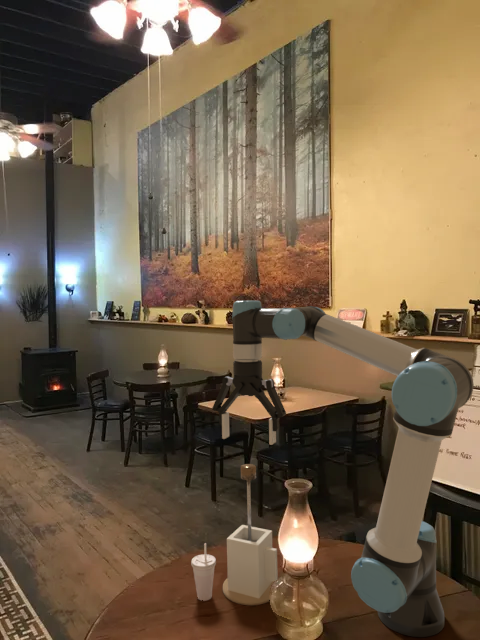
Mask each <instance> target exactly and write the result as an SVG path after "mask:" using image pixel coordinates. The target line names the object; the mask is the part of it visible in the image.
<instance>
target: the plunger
mask: <svg viewBox="0 0 480 640" xmlns="http://www.w3.org/2000/svg"><path fill="white" fill-rule="evenodd" d="M240 479H241V480H242V481H246V497H247V498H246V500H247V501H246V503H247V505H246V507H247V509H246V510H247V526H248V540H247V541H251V542H257V540H252V538H251V527H252V505H251V504H252V503H251V502H252V501H251V481H252V480H253V481H254V480H255V479H257V466H256V465H255V464H253V463H245V464H242V465H240Z"/></svg>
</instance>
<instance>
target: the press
mask: <svg viewBox="0 0 480 640" xmlns="http://www.w3.org/2000/svg"><path fill="white" fill-rule="evenodd" d="M251 538H252V540H257V542H251V541H247V540H248V525H245V524H241V525H240V526H239V527H237V529H236V530H234V531H233V533H231V534H230V535H229V536H228V537H227V538H226V558H227V559H226V560H227V562H226V563H227V567H226V569H227V578H226V579H225V580H224V581H223V584H222V593H223V595H224V597H225V598H227V600H228V601H231V602H233V603H235V604H238V605H242V606H243V605H244V606H258V605H262V604H266V603H269V602H270V601H269V591H270V588H271V585H272V584H273V582H274V581H276V580H277V581H278V578H279V577H278V548H274V547H273V530H270V529H265V528H260V527H256V526H251Z"/></svg>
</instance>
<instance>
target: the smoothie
mask: <svg viewBox="0 0 480 640" xmlns="http://www.w3.org/2000/svg"><path fill="white" fill-rule="evenodd" d="M203 546H204V547H203V548H204V550H203V553H204V554H198V555H195V556H194V557H193V558H192V559H191V560H190V561H191V567H192V569H193V570H192V571H193V578H194V583H195V590H196V596H197V597H198V598H197V600H199V601H202V600H203V601H202V602H205V601H209V600H211V599H212V596H213V587H214V586H213V585H214V576H215V566H216V565H217V561H216V557H215V556H214V555H211V554H207V553H208V552H207V543H206V542H205V543H204V544H203Z"/></svg>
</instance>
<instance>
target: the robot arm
mask: <svg viewBox="0 0 480 640" xmlns="http://www.w3.org/2000/svg"><path fill="white" fill-rule="evenodd" d="M231 319H232V336H233V337H232V338H233V339H232V340H233V341H232V346H233V347H232V358H233V359H234V360H233V363H232V364H233V367H232V368H233V371H232V373H233V377H231V376H229V375H228V376H225V377H222V384H221V386H220V389H219V393H218V394H217V396H216V398H215V401H214V403H213V405H212V411H214V412H217V413H218V418H219V419H218V421H219V426H221V435H222V436H221V439H223V440H225V439H227V438H229V437H230V412H229V411H228V410H229V408H230V407H231V406H232V404H233V403H234V402H235V401H236V399H238V397H239V396H248V397H253V396H254V397H255V398H256V399H257V400H258V401H259V402H260V404H261V405H262V406H263V408H264V409H265V410H266V412H267V413H268V415H269V416H270V418H269V419H268V440H269V441H268V443H269V445H271V446H272V445H274V444H276V443H277V432H278V431H279V429H280V418H282V417H284V416H286V415H287V412H286V409H285V407H284V405H283V403H282V400H281V398H280V397H279V394H278V391H277V389H276V387H275V380H274V379H273V378H270V379H263V361H262V360H261V359H262V357H263V344H262V343H263V342H262V341H263V339H265V338H266V339H279V340H280V339H281V340H285V341H287V340H298V339H299V338H301V337H307V338H309V339H311V340H313V341H315V342H318V343H321V344H323V345H325V346H327V347H330V348H331V349H335V350H336V351H339V352H340V353H343V354H345V355H348V356H350V357H352V358H354V359H357V360H359V361H361V362H364V363H366V364H369V365H370V366H373V367H375V368H377V369H380V370H381V371H384V372H387V373H389V374H391V375H394V376H396V378H395V380H394V381H393V384H392V387H391V401H392V405H393V406H394V412H393V416H392V419H393V422H394V423H395V425H396V426H397V427H398V428H397V434H396V438H395V443H394V447H393V452H392V454H391V455H392V456H391V460H390V465H389V468H388V469H389V470H388V474H387V477H386V483H385V486H384V491H383V496H382V500H381V504H380V508H379V513H378V515H377V517H378V518H377V522H376V526H375V527H374V528H371V529H369V530H368V532H367V534H366V536H365V541H364V545H363V549H362V554H361V556H360V557H359V558H358V559H357V560H356V561H354V564H353V566H352V568H351V572H350V573H351V574H350V579H351V583H352V586H353V588H354V590H355V591H356V593H357V595H358V597H359V599H361V601H363V603H365V604H366V605H367V606H368V607H370V608H371V609H373V610H375V611H377V616H378V618H379V619H380V621H381V622H382V623H383V625H385V626H386V627H387V628H388V629H390V630H392V631H394V632H396V633H398V634H401V635H404V636H409V637H414V638H427V637H431V636H432V637H433V636H436V635H438V634H439V633H440V632H442V630H443V628H445V612H444V611H445V610H444V608H443V605H442V604H443V603H442V602H441V598H440V596H439V593H438V590H437V541H438V540H437V538H436V535H437V534H436V530H435V528H434V527H433V526H432V525H431V524H429V523H427V522H426V521H423V517H424V514H425V509H426V506H427V503H428V498H429V495H430V490H431V486H432V481H433V477H434V473H435V470H436V465H437V462H438V457H439V454H440V453H439V452H440V450H441V446H442V445H441V444H442V442H443V440H445V439H447V438H449V437H451V436H452V434H453V431H454V427H455V423H456V419H457V415H458V412H459V409H460V408H462V407H463V406H465V405H466V404H467V403H468V402H469V401H470V398H471V397H472V394H473V391H474V379H473V376H472V374H471V371H470V370H469V368H468V367H467V366H466V365H465V364H464V363H463V362H462V361H460V360H458V359H456V358H454V357H451V356H449V355H446V354H443V353H441V352H437V351H434V350H432V349H429V348H426V347H421V348H419V349H417V348H415V347H412V346H409V345H407V344H404V343H401V342H400V341H396V340H394V339H391V338H389V337H386V336H383V335H381V334H379V333H376V332H373V331H370V330H369V329H365V328H363V327H361V326H358V325H356V324H353V323H350V322H347V321H345V320H342V319H341V318H338V317H335V316H333V315H330V314H327V313H326V312H325V311H324V310H323V309H322V308H320V307H317V306H311V305H309V306H301V307H299V306H298V307H277V308H275V307H274V308H272V307H270V308H263V306H262V302H261V301H260V300H236V301H234V302H233V305H232V316H231ZM232 385H233V386H234V389H233V390H232V391H231V394H230V395H229V396H228V398H226V396H227V394H228V392H229V389H230V388H231V386H232ZM263 386H264V388H265V389H266V391H267V394H268V396H269V398H270V399H269V398H268V397H267V396H266V393H265V391H264V390H263V389H262V387H263ZM225 398H226V399H225ZM270 400H271V401H270Z"/></svg>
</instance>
